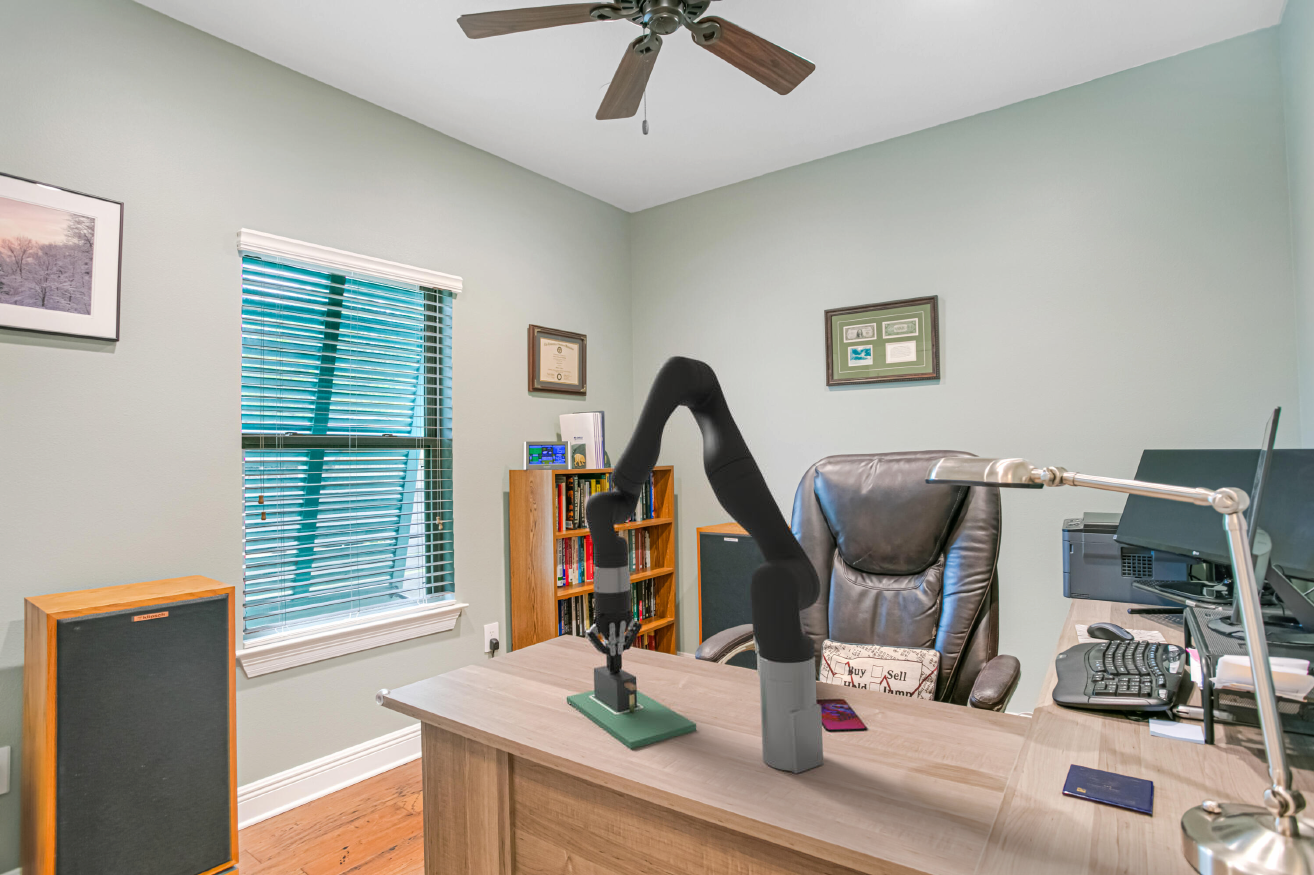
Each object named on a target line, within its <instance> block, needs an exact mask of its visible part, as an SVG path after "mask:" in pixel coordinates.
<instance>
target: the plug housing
mask: <svg viewBox="0 0 1314 875" xmlns="http://www.w3.org/2000/svg"><path fill="white" fill-rule="evenodd" d="M593 685H594V686H593V687H594V688H593V691H594V696H595V698H597V699H598V700H600V701H601V702H603V703H604V704H606V705H607V706H609V707H611V708H612V709H614V710H615V711H617V712H620V711H624V710H628V709H629V694H634V706H635V708H636V707H637V691H638V686H637V677H636V676H635V675H633V674H631V673H629V672H628V671H625V670H624V669H622V668H621V669H620V672H619V673H615V674H612V673H611V672H609V670H608V669H607V665H604V666H598V667H593Z"/></svg>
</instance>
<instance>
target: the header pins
mask: <svg viewBox="0 0 1314 875" xmlns="http://www.w3.org/2000/svg"><path fill="white" fill-rule="evenodd" d="M629 709H630V713H635V706H634V694H629Z"/></svg>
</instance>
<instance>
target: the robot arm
mask: <svg viewBox="0 0 1314 875" xmlns="http://www.w3.org/2000/svg"><path fill="white" fill-rule="evenodd" d="M679 406H682V407H687V409H688V410H689V411H690V412H691V414H692V416H693V418H694V420H695V421H696V423H697V425H698V428H699V430H700V432H701V435H702V443H703V444H702V445H703V446H702V447H703V448H702V450H703V451H702V456H703V458H702V459H703V468H704V469H703V470H704V473H705V476H706V479H707V481H708V482H709V484H710V487H711V489H712V491H713V493H714V496H715V498H716V499H717V501H718V503H719V505H720V506H721V508H723V510H724V511H725V512H726V513H727V514H728V515H729V516H730V517H731V518H732V519H733V520H734V521H735V522H736V523H737V524H738V525H739V526H740V527H741V528H743V530H744V531H746V533H747V534H748V535H749V536H750V537H751V538H752V539H753V541H754V542H755V544H756V545H757V547H758V549H759V550H760V552H761V555H762V558H764V561H765V562H762V563H761V564H759V565H758V566H757V567H756V568H755V569H754V571H753V573H752V575H751V579H750V584H749V585H750V586H749V593H750V594H749V596H750V608H751V609H750V610H751V620H752V632H753V636H755V639H756V641H757V644H758V647H759V669H760V677H759V690H760V694H759V696H760V717H761V718H760V719H761V721H760V722H761V723H760V724H761V725H760V727H761V742H762V743H761V745H762V746H761V747H762V750H761V752H762V759H763V761H764V763H765V764H766V765H768V766H769V767H772V768H773V769H774V768H775V769H778V770H782V771H787V772H791V773H794V774H799V773H802V772H805V771H807V770H811V769H813V768H816V767H819V766H821V765H823V764H824V748H823V747H824V746H823V744H824V743H823V726H822V716H821V706H820V705H819V704H817V703H816V700H817V684H816V682H817V680H816V679H817V678H816V656H815V655H816V653H815V642H814V638H812V636H810V635H808V634H807V633H804V632H803V630H802V627H801V626H802V625H801V614H800V612H802V611H803V610H806V609H809V608H810V607H812V606H814V605H815V604H816V603H817V601H818V600H819V598H820V594H821V580H820V577H819V574H818V572H817V570H816V568H815V566H814V564H813V562H812V561H811V559H810V557H809V556H808V554H807V552H806V551H805V550H804V548H803V546H802V545H801V543H800V542H799V541H798V539H797V538H796V536H795V534H794V533H793V531H792V530H791V527H790V526H789V525H788V522H787V521H786V519H785V517H784V515H783V514H782V511H781V508H780V507H779V505H778V504H777V502H776V500H775V498H774V495H773V493H772V492H771V490H770V488H769V486H768V484H767V481H766V480H765V477H764V476H763V473H762V471H761V470H760V467H759V465H758V463H757V462H756V460H755V457H754V456H753V454H752V453H751V450H750V449H749V446H748V445H747V443H746V441H745V439H744V437H743V434H742V432H741V431H740V429H739V426H738V425H737V424H736V421H735V419H734V417H733V416H732V412H731V411H730V408H729V406H728V403H727V400H726V397H725V395H724V393H723V390H722V387H721V384H720V382H719V379H718V376H717V375H716V373H715V371H714V369H713V368H712V367H711V366H710V364H708V363H706V362H704V361H702V360H699V359H694V358H690V357H686V356H679V355H674V356H671V357H669V358H667V359H665V360H664V362H662V363H661V365H660V367H658V370H657V372H656V373H655V375H654V378H653V381H652V384H651V387H650V389H649V391H648V394H647V396H646V399H645V402H644V405H643V407H642V410H641V413H640V415H639V416H638V421H637V424H636V426H635V427H634V430H633V432H632V434H631V437H630V439H629V441H628V442H627V444H626V447H625V448H624V450H623V451H622V453H621V455H620V456H619V458H618V460H617V462H616V464H615V465H614V467H613V469H612V472H611V474H610V475H611V476H610V478H611V481H612V483H613V484H614V485H615V487H614V488H613V490H609V491H598V492H595V493H593V494H591V495H590V497H588V499H587V502H586V505H585V519H586V523H587V526H588V527H587V528H588V531H589V534H590V538H591V541H592V544H593V548H594V556H593V557H594V558H593V560H594V573H593V597H594V599H593V600H594V603H593V604H594V614H595V615H594V617H593V622H592V623H593V624H592V625H591V626H590V628H588V629H587V628H586V629H585V630H584V631H583V635H584V636H585V637H586V638H587V640H588V641H589V642H590V643H591V644H592V646H594V648H595V649H596V651H598V652H599V653H601V654H603V655H606V666H607V669H608V670H609V672H611V673H612V674H615V673H619V672H620V669H622V668H623V660H622V659H623V657H622V656H623V653H624V652H625V651H626V650H631V647H632V646H633V644H634V642H635V640H636V639H637V636H638V635H639V633H640V631H642V630H641V629H642V627H643V624H642V623H640V622H638V621H637V620H634V619H633V614H632V612H631V608H632V599H631V598H632V596H631V595H632V594H631V574H630V568H629V544H628V540H627V539H626V538H625V537H622V536H618V535H617V532H616V530H615V529H616V528H615V526H614V525H621V524H624V523H626V522H627V521H629V520H630V519H631V518H632V516H633V515H634V514H635V512H636V509H637V508H638V505H639V500H640V498H641V493H642V489H643V487H644V485H646V482H647V480H649V477H650V475H651V474H652V473H653V471H654V469H655V467H656V466H657V463H658V460H659V458H660V453H661V448H662V447H661V446H662V440H663V439H662V438H663V434H664V431H665V427H666V425H667V422H668V421H669V419H670V417H671V416H672V414H673V413H674V412H675V411H676V410H677V408H678V407H679ZM599 633H600V635H601V636H602V641H603V642H602V641H601V639H599Z"/></svg>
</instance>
